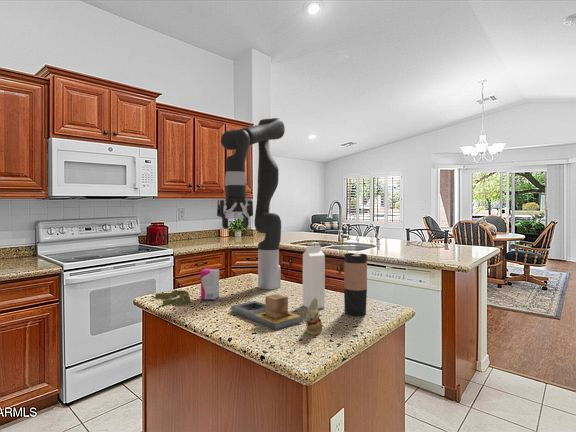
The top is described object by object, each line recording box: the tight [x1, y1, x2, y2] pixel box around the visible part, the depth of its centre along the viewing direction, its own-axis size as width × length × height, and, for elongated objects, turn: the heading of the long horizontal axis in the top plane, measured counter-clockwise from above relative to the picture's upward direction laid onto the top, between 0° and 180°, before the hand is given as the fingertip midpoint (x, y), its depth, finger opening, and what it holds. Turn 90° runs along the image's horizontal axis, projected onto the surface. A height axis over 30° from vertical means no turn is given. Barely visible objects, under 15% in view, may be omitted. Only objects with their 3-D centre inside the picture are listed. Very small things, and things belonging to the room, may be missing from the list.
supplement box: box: [200, 268, 220, 302], centre depth 138 cm, size 6×6×12 cm
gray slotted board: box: [230, 300, 301, 331], centre depth 115 cm, size 10×24×2 cm, turn 41°
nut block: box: [264, 293, 289, 320], centre depth 110 cm, size 5×5×8 cm
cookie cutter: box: [154, 289, 191, 307], centre depth 137 cm, size 18×12×2 cm, turn 32°
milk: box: [302, 245, 326, 309], centre depth 127 cm, size 6×6×22 cm
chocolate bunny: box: [305, 298, 323, 336], centre depth 102 cm, size 6×8×10 cm
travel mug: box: [343, 252, 368, 317], centre depth 120 cm, size 8×8×20 cm
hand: (235, 228), depth 131 cm, fingers open, 8 cm apart
